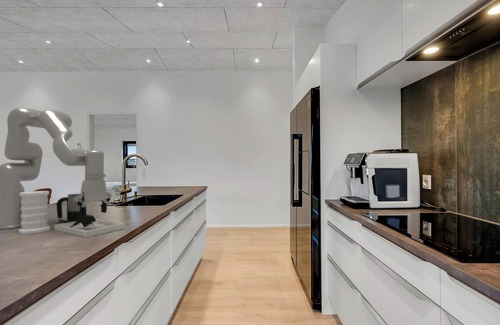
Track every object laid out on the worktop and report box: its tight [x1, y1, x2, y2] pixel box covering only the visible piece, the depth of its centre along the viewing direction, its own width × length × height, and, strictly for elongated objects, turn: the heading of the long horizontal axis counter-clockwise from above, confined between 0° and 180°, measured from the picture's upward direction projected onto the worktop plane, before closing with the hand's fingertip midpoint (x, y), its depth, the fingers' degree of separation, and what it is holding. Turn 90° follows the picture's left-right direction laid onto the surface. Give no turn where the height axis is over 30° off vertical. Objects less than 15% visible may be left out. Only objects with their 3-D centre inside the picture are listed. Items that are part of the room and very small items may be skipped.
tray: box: [54, 218, 126, 239], centre depth 131 cm, size 26×18×2 cm
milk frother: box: [56, 193, 88, 224], centre depth 146 cm, size 14×16×15 cm
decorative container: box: [18, 190, 51, 235], centre depth 129 cm, size 12×12×18 cm
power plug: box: [70, 214, 97, 229], centre depth 131 cm, size 6×8×12 cm
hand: (93, 213), depth 130 cm, fingers open, 9 cm apart
